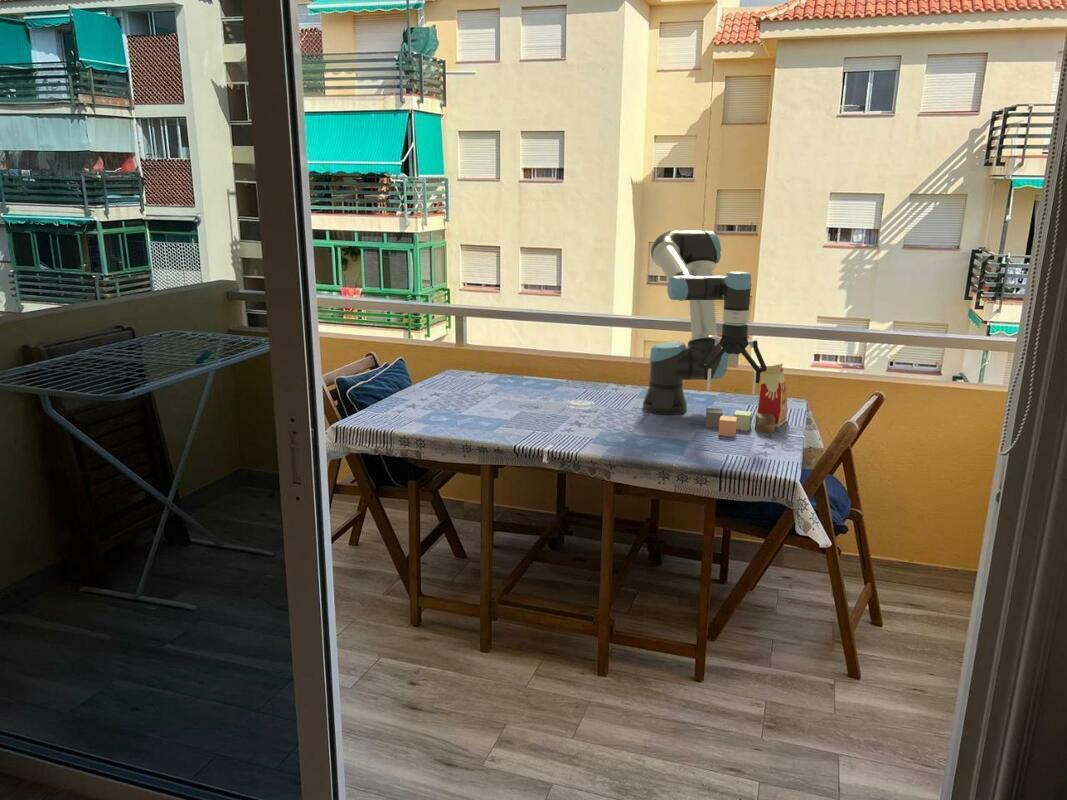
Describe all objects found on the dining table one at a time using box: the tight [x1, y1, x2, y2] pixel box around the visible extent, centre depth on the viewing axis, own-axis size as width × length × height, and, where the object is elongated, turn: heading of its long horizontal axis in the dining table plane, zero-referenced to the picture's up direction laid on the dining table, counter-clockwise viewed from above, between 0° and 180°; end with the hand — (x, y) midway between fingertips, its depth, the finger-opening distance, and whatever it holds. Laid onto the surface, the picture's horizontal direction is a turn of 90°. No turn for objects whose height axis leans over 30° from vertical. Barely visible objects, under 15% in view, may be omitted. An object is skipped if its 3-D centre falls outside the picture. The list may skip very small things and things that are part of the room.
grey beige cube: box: [704, 407, 724, 428], centre depth 252 cm, size 5×5×5 cm
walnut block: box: [754, 412, 776, 434], centre depth 247 cm, size 5×5×5 cm
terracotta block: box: [718, 415, 737, 437], centre depth 244 cm, size 5×5×5 cm
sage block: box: [733, 409, 753, 431], centre depth 250 cm, size 5×5×5 cm
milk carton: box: [755, 363, 788, 428], centre depth 254 cm, size 9×9×20 cm
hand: (730, 391), depth 240 cm, fingers open, 13 cm apart
